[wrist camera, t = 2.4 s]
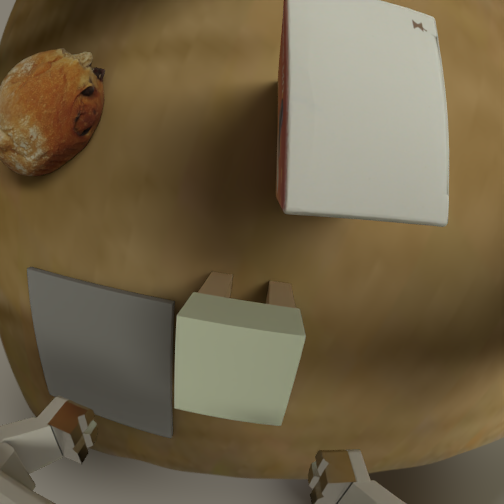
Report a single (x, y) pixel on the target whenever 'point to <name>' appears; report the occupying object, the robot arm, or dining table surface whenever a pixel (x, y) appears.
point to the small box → (361, 113)
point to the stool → (237, 352)
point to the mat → (105, 349)
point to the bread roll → (48, 110)
